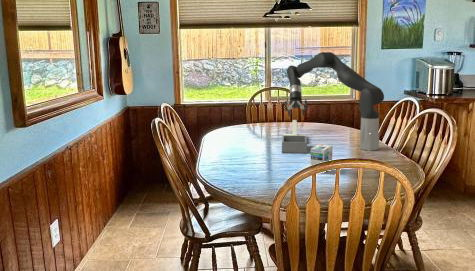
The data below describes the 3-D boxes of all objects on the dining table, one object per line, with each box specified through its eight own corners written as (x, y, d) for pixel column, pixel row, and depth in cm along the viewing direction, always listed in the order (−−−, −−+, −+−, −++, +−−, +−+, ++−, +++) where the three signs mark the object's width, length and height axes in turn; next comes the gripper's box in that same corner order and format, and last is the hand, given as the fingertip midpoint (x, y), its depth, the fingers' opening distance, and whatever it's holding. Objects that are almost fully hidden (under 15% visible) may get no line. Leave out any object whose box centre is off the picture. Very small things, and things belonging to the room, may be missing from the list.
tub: (306, 153, 226) (306, 142, 225) (281, 153, 228) (281, 142, 227) (305, 146, 244) (306, 135, 243) (282, 145, 245) (282, 135, 244)
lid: (306, 144, 248) (306, 125, 246) (282, 143, 250) (282, 125, 248) (305, 137, 267) (306, 119, 264) (283, 137, 268) (283, 119, 266)
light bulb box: (324, 174, 190) (324, 150, 188) (309, 171, 194) (310, 148, 191) (332, 168, 199) (333, 145, 197) (318, 166, 202) (319, 143, 200)
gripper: (284, 91, 277) (284, 113, 270) (306, 89, 275) (307, 112, 268) (284, 96, 284) (285, 119, 277) (306, 95, 282) (307, 118, 275)
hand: (296, 115), depth 273 cm, fingers open, 8 cm apart
